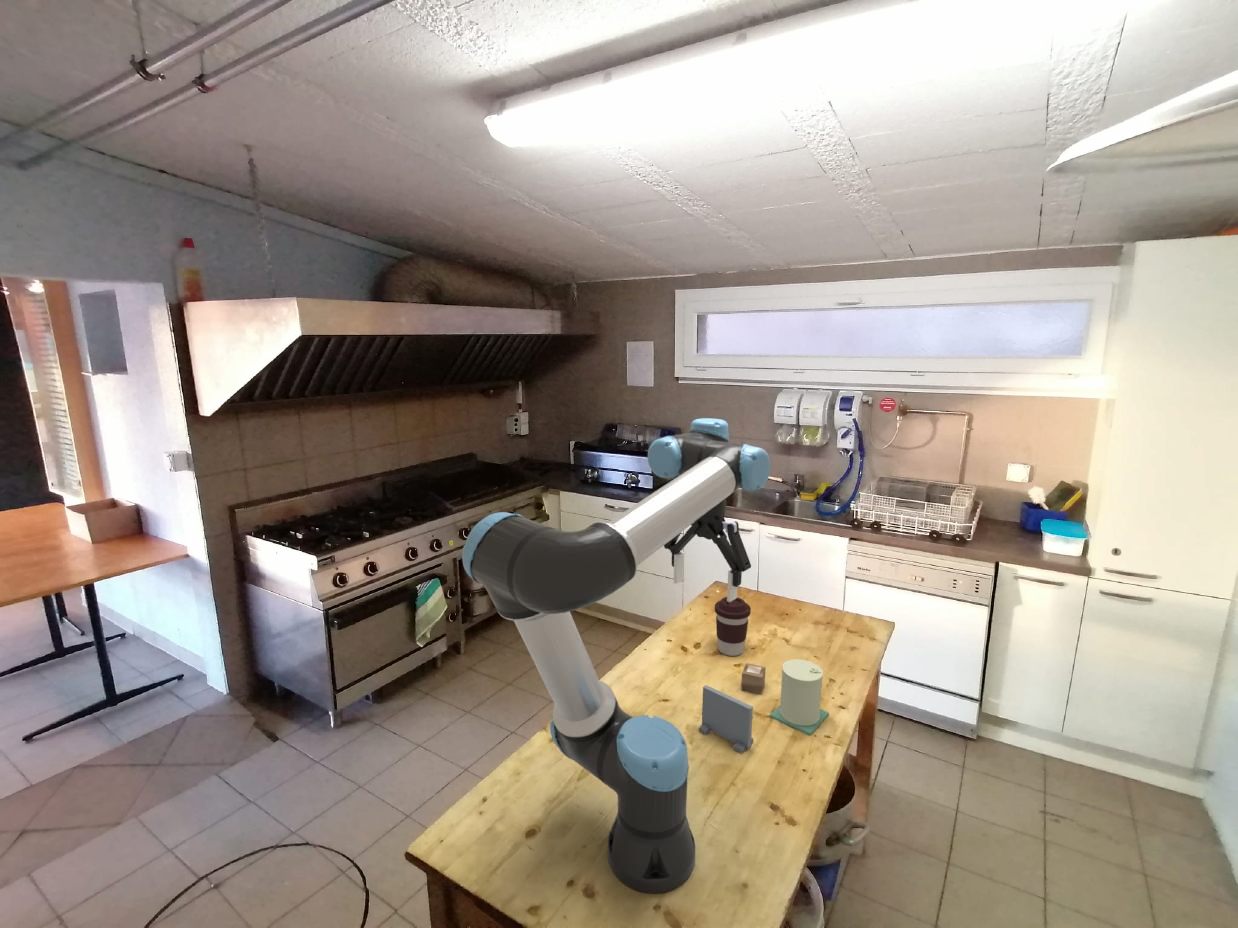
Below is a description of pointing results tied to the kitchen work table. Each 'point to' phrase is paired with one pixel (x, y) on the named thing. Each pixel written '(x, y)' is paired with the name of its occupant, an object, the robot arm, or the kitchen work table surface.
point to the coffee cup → (731, 625)
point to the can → (801, 692)
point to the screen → (727, 718)
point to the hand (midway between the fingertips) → (704, 590)
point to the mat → (804, 729)
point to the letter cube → (753, 678)
